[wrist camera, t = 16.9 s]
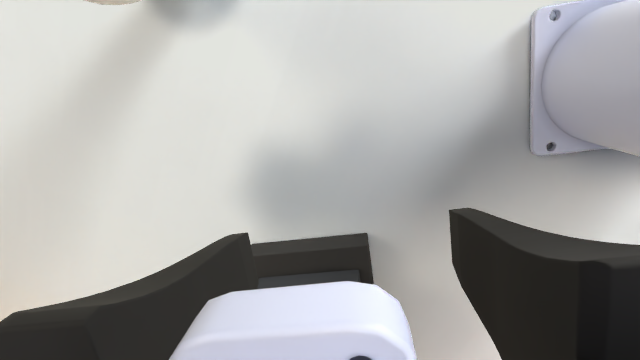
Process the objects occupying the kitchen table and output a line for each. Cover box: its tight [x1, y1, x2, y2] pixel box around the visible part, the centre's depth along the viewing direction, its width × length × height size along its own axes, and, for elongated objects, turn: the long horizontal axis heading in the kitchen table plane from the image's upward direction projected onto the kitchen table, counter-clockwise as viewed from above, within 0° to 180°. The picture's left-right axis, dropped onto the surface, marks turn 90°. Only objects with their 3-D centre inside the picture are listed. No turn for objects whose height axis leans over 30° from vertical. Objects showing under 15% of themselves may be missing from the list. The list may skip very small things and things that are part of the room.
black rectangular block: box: [257, 269, 361, 289], centre depth 22 cm, size 6×5×4 cm
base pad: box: [251, 233, 374, 285], centre depth 24 cm, size 8×8×2 cm
